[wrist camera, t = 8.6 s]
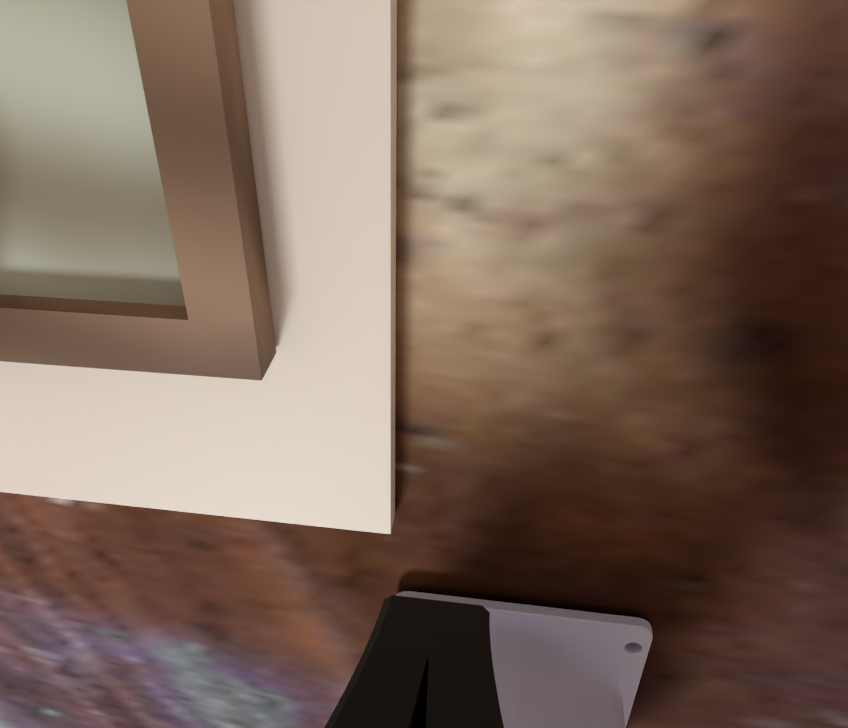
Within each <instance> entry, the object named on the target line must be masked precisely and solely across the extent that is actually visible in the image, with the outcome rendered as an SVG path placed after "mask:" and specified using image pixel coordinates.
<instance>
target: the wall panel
mask: <svg viewBox="0 0 848 728" xmlns="http://www.w3.org/2000/svg"><path fill="white" fill-rule="evenodd" d="M233 7H234V15H235V23H236V31H237V39H238V47H239V55H240V63H241V71H242V79H243V87H244V95H245V103H246V111H247V119H248V127H249V135H250V144H251V152H252V160H253V168H254V176H255V184H256V192H257V200H258V208H259V216H260V224H261V232H262V240H263V248H264V256H265V264H266V272H267V280H268V289H269V297H270V305H271V313H272V321H273V329H274V337H275V345H276V354H275V356H274V358H273V360H272V362H271V364H270V366H269V368H268V370H267V372H266V373H265V375H264V377H263V379H262V381H261V380H248V379H234V378H221V377H207V376H194V375H180V374H166V373H153V372H139V371H126V370H112V369H99V368H85V367H71V366H58V365H44V364H31V363H17V362H4V361H0V492H7V493H16V494H25V495H34V496H43V497H53V498H62V499H71V500H80V501H89V502H98V503H108V504H117V505H126V506H135V507H144V508H154V509H163V510H172V511H181V512H190V513H200V514H209V515H218V516H227V517H236V518H246V519H255V520H264V521H273V522H282V523H292V524H301V525H310V526H319V527H328V528H337V529H347V530H356V531H365V532H374V533H383V534H391V530H392V525H393V521H394V516H395V372H396V133H397V0H233Z"/></svg>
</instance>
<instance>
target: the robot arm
mask: <svg viewBox="0 0 848 728" xmlns="http://www.w3.org/2000/svg"><path fill="white" fill-rule="evenodd" d="M652 639H653V634H652V627H651V625H650V623H649V622H648V621H646V620H645V619H642V618H638V617H630V616H622V615H613V614H604V613H596V612H587V611H578V610H570V609H561V608H552V607H544V606H535V605H526V604H518V603H509V602H500V601H492V600H483V599H474V598H465V597H457V596H448V595H439V594H431V593H422V592H413V591H403V592H400V593H398V594H396V595H392V596H390V597H388V598H386V599H385V600H384V602H383V605H382V608H381V611H380V614H379V617H378V619H377V622H376V624H375V627H374V629H373V632H372V634H371V637H370V639H369V641H368V644H367V646H366V648H365V650H364V652H363V655H362V657H361V659H360V661H359V663H358V665H357V667H356V669H355V671H354V673H353V675H352V677H351V679H350V681H349V683H348V685H347V687H346V689H345V691H344V693H343V695H342V697H341V699H340V701H339V702H338V704H337V706H336V708H335V710H334V711H333V713H332V715H331V717H330V719H329V721H328V722H327V724H326V726H325V728H626V726H627V722H628V719H629V716H630V712H631V709H632V706H633V702H634V699H635V696H636V692H637V689H638V686H639V682H640V679H641V676H642V672H643V669H644V666H645V662H646V659H647V656H648V652H649V649H650V646H651V642H652Z"/></svg>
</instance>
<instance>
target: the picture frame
mask: <svg viewBox="0 0 848 728" xmlns="http://www.w3.org/2000/svg"><path fill="white" fill-rule="evenodd" d="M275 354H276V345H275V337H274V329H273V321H272V313H271V305H270V297H269V289H268V280H267V272H266V264H265V256H264V248H263V240H262V232H261V224H260V216H259V208H258V200H257V192H256V184H255V176H254V168H253V160H252V152H251V144H250V135H249V127H248V119H247V111H246V103H245V95H244V87H243V79H242V71H241V63H240V55H239V47H238V39H237V31H236V23H235V15H234V7H233V0H0V361H4V362H17V363H31V364H44V365H58V366H71V367H85V368H99V369H112V370H126V371H139V372H153V373H166V374H180V375H194V376H207V377H221V378H234V379H248V380H261V381H262V379H263V377H264V375H265V373H266V372H267V370H268V368H269V366H270V364H271V362H272V360H273V358H274V356H275Z"/></svg>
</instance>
